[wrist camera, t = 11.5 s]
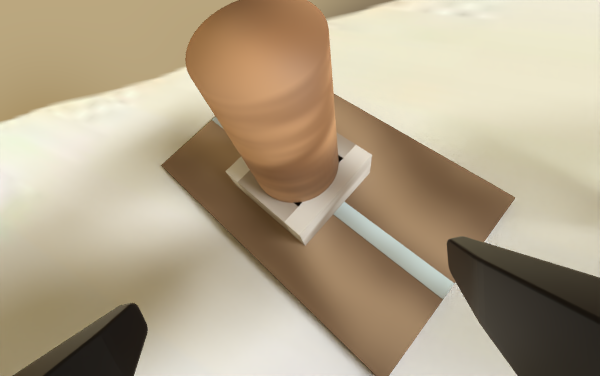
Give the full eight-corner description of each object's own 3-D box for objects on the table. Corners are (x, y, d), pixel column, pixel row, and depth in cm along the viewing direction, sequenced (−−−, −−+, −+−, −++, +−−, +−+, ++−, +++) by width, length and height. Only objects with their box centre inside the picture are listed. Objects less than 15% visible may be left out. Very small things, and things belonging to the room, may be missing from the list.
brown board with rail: (382, 380, 17) (388, 391, 14) (166, 170, 26) (142, 149, 23) (509, 202, 20) (536, 180, 17) (279, 67, 29) (270, 37, 26)
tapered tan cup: (304, 232, 20) (252, 125, 10) (250, 186, 23) (158, 57, 12) (355, 174, 22) (360, 23, 11) (299, 136, 24) (257, -22, 13)
